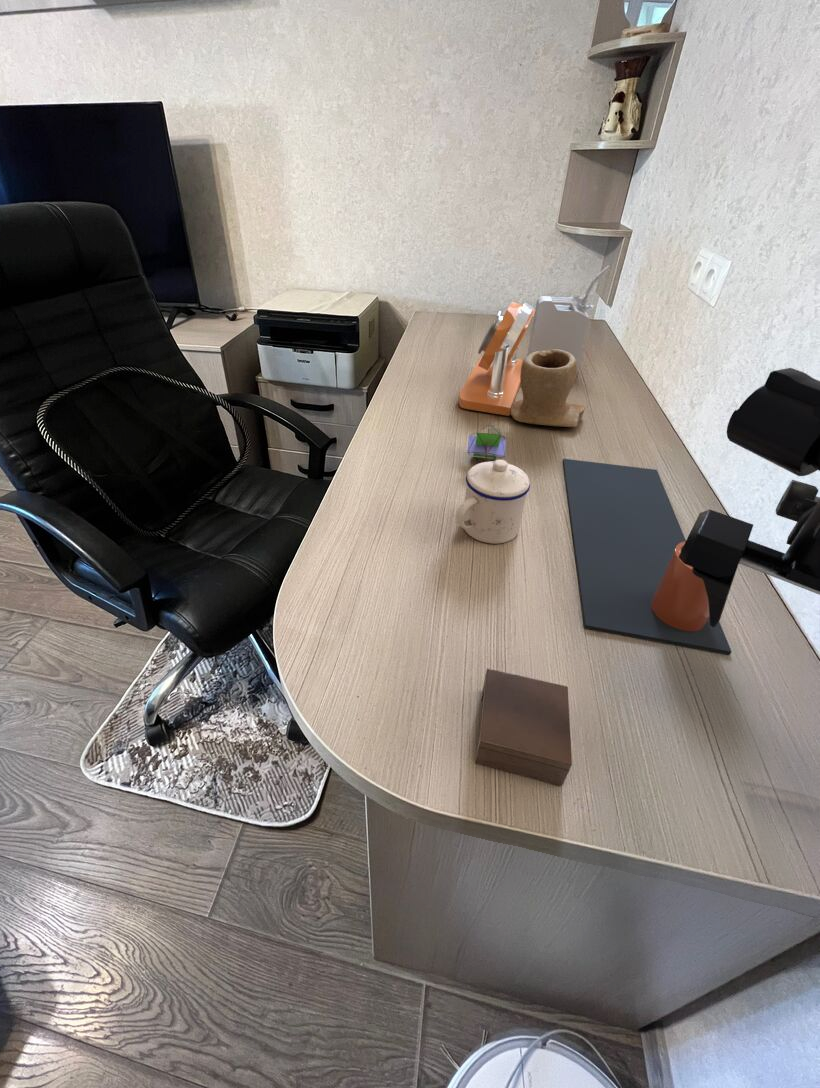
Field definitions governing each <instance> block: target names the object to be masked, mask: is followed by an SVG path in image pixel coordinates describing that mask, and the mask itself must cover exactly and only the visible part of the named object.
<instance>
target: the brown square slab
mask: <svg viewBox="0 0 820 1088" xmlns="http://www.w3.org/2000/svg"><path fill="white" fill-rule="evenodd" d="M480 701H482V710H481V719H480V720H481V721H480V731H479V737H478V741H477V745H476V750H475V759H474V763H475V764H477V765H481V766H484V767H489V768H491V769H495V770H500V771H503V772H507V773H511V774H515V775H518V776H521V777H525V778H529V779H533V780H537V781H540V782H544V783H548V784H553V785H556V786H560V787H563V786H564V783H565V782H566V779H567V777H568V774H569V773H570V770H571V768H572V765H573V757H572V740H571V739H572V738H571V722H570V704H569V703H570V701H569V687H568V685H564V684H558V683H555V682H549V681H546V680H541V679H537V678H532V677H528V676H523V675H519V674H515V673H509V672H505V671H501V670H496V669H492V668H486V671H485V676H484V680H483V685H482V690H481V698H480Z"/></svg>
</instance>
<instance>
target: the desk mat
mask: <svg viewBox="0 0 820 1088" xmlns="http://www.w3.org/2000/svg"><path fill="white" fill-rule="evenodd" d="M562 466H563V473H564V481H565V488H566V489H565V490H566V496H567V504H568V505H567V506H568V514H569V519H570V529H571V535H572V536H571V537H572V543H573V550H574V551H573V553H574V558H575V559H574V560H575V565H576V574H577V582H578V589H579V590H578V591H579V597H580V604H581V612H582V620H583V628H584V629H586V630H592V631H597V632H602V633H603V632H604V633H609V634H613V635H620V636H624V637H631V638H634V639H635V638H636V639H641V640H647V641H653V642H658V643H663V644H668V645H674V646H680V647H685V648H690V649H697V650H700V651H701V650H702V651H708V652H711V653H718V654H724V655H731V653H732V652H733V651H732V649H731V646H730V644H729V642H728V639H727V637H726V634H725V631H724V629H723V627H722V624H721V622H720V621H719V622H718V624H717V625H716V626H715V627H712V626H710V620H708V621H707V623H706V625H705V626H704V627H703V628H702V629H701V630H698V631H682V630H679V629H676V628H673V627H671V626H669V625H667V624H666V623H664V622H663V621H661V620H660V619H659V618H658V617H657V616H656V615H655V613H654V612H653V610H652V608H651V600H652V598H653V595H654V593H655V591H656V589H657V587H658V585H659V582H660V580H661V578H662V576H663V574H664V572H665V569H666V567H667V565H668V563H669V561H670V559H671V556H672V554H673V552H674V550H675V548H676V546H677V545H678V544H679V543H681V542H685V541H686V540H687V538H686V537H685V535H684V532H683V530H682V527H681V525H680V522H679V520H678V518H677V515H676V512H675V510H674V508H673V505H672V503H671V501H670V498H669V496H668V493H667V491H666V489H665V486H664V484H663V481H662V478H661V477H660V474H659V472H658V469H655V468H645V467H637V466H629V465H621V464H611V463H605V462H595V461H587V460H578V459H572V458H563V459H562Z"/></svg>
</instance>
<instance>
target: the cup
mask: <svg viewBox="0 0 820 1088" xmlns="http://www.w3.org/2000/svg"><path fill="white" fill-rule="evenodd" d="M685 542H686V541H685ZM685 542H681V543H679V544H678V545H677V546H676V548H675V550H674V552H673V554H672V556H671V559H670V561H669V563H668V565H667V567H666V569H665V572H664V574H663V576H662V578H661V580H660V582H659V585H658V587H657V589H656V591H655V593H654V595H653V598H652V600H651V608H652V610H653V612H654V613H655V615H656V616H657V617H658V618H659V619H660V620H661V621H663V622H664V623H666V624H667V625H669V626H671V627H673V628H676V629H679V630H682V631H698V630H701V629H702V628H703V627H704V626H705V625H706V623H707V621H708V620H709V601H708V596H707V592H706V588H705V585H704V581H703V579H702V578H700V577H697V576H696V575H694V574H693V573H692V568H693V567H691V566H689V565H686V564H684V563H683V562H682V561H681V560H680V558H679V555H680V553H681V550H682V548H683V546H684V544H685Z"/></svg>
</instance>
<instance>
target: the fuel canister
mask: <svg viewBox="0 0 820 1088" xmlns="http://www.w3.org/2000/svg"><path fill="white" fill-rule="evenodd" d="M610 270H612V267H611V266H610V265H607V266H606V267H604V268H603V269H602V270H601V271H600V272H599V273H597V274H596V276H594V278H593V279H592V280H591V281H590V283H589V286H588V287H587V289H586V290H585V293H582V294H580V295H577V296H576V295H573V296H571V297H565V296H564V297H561V296H549V295H540V296H539V297H538V298H537V300H536V303H535V309H534V310H536V311H535V313H534V315H533V318H532V324H531V331H530V335H529V336H530V337H529V341H528V347H527V351H526V357H527V356H528V355H529V354H531V353H533V352H535V351H540V350H541V351H548V350H552V349H559V350H563V351H566V352H568V353H570V354H572V355H573V356H574V358H575V359H576V363H577V372H579V370H580V365H581V362H582V358H583V353H584V351H585V345H586V342H587V338H588V333H589V330H590V326H591V321H592V319H591V318H590V316H589V315H588V313H587V310H589V309H592V308H594V307H595V305H593V304H590V303H588V302H589V301H588V300H589V297H590V294H591V292H592V291H593V289H594V288H595V287H594V286H595V285H596V283H597V282H598V281H600V280H601V279H602V278H603V276H605V275H606V274H607V273H608V272H609V271H610ZM573 301H575V302H576V304H575V305H574V302H573Z"/></svg>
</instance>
